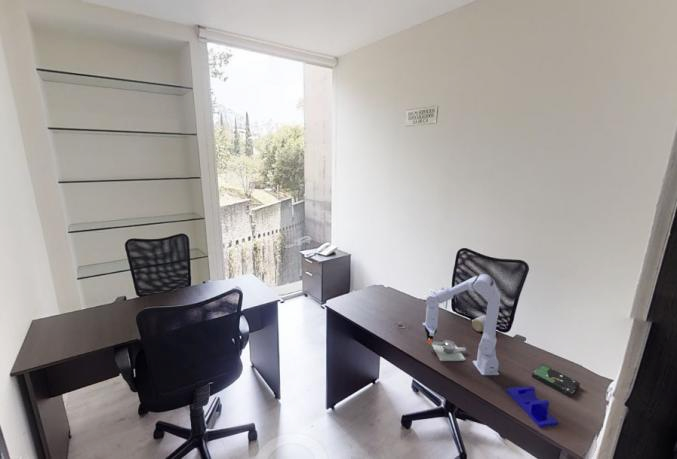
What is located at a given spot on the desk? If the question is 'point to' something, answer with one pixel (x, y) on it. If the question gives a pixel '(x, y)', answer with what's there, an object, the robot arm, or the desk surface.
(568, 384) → the disk drive
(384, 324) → the desk surface
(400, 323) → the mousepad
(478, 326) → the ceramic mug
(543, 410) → the mounting bracket
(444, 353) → the base
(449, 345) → the key lever
